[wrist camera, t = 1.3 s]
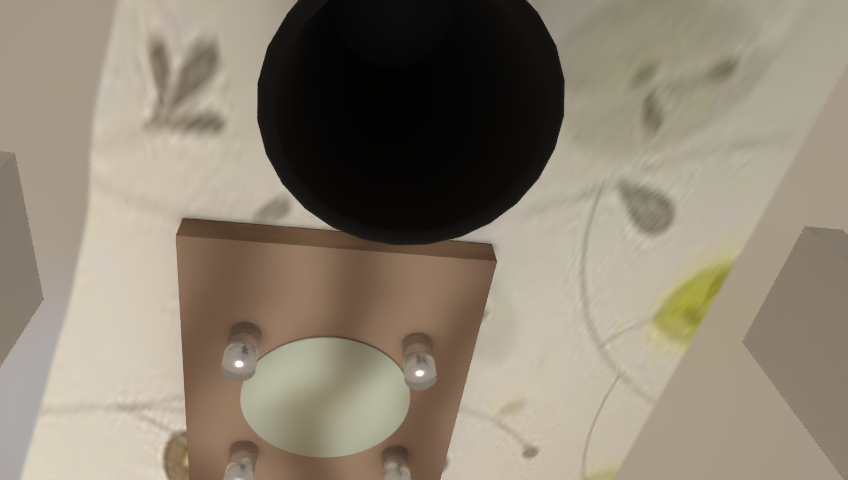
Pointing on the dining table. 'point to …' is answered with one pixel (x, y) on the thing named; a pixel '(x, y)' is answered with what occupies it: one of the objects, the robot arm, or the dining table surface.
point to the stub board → (324, 351)
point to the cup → (410, 112)
